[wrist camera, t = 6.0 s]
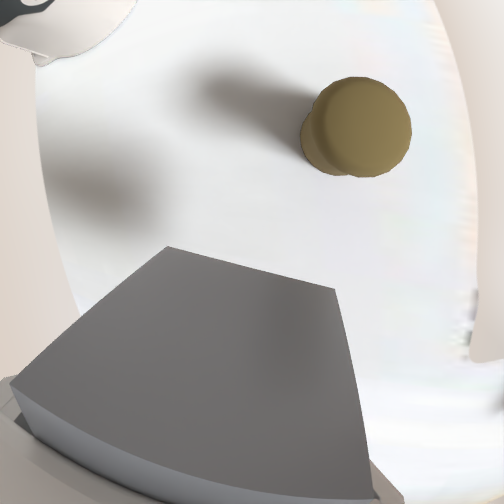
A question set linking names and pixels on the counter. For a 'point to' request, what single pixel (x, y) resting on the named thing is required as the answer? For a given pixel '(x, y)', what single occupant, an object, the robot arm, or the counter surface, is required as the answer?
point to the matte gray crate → (206, 388)
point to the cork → (356, 129)
